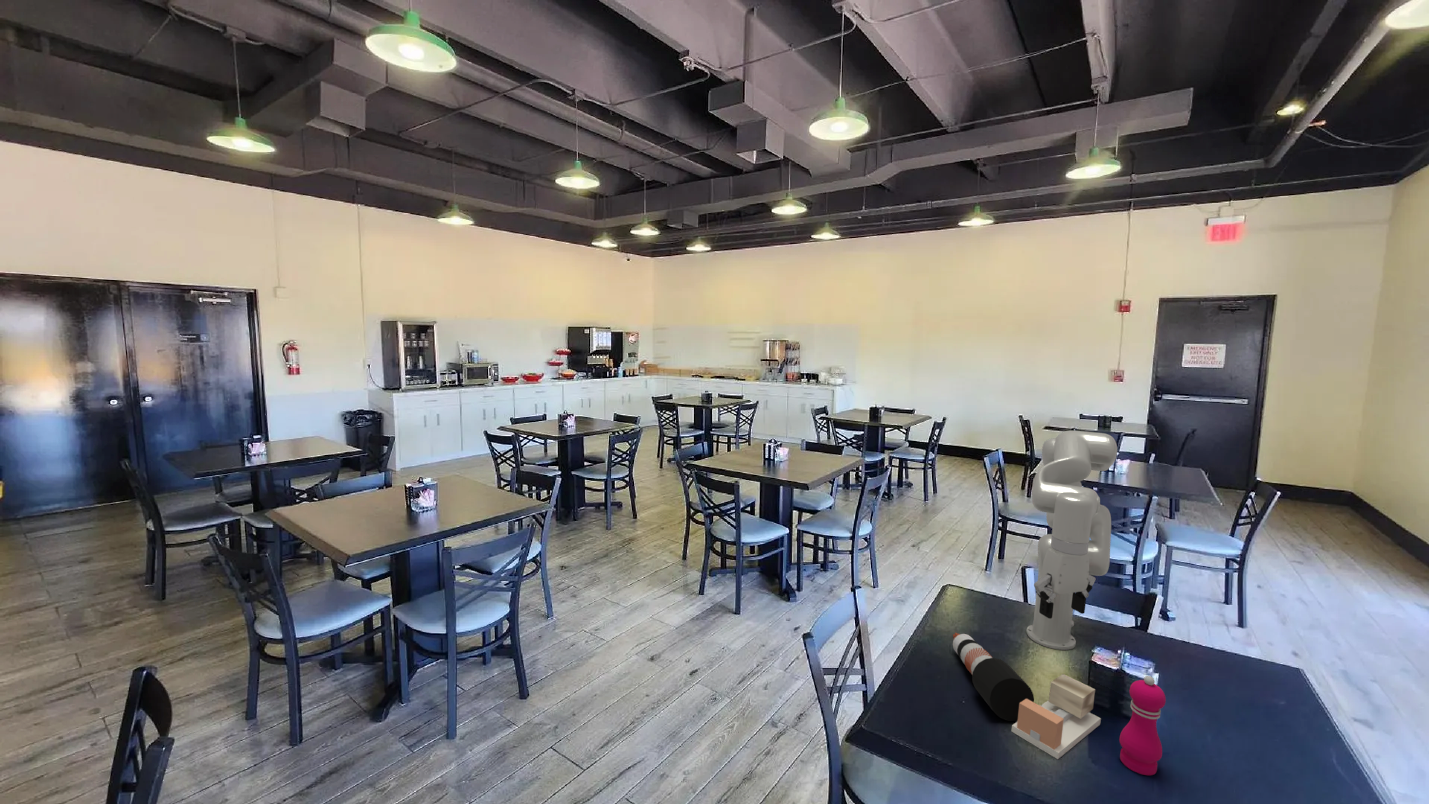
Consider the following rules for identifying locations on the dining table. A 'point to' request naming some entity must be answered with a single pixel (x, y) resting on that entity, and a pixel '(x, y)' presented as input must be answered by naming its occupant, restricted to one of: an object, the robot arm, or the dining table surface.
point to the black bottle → (993, 678)
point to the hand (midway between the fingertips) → (1061, 613)
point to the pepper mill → (1143, 728)
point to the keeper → (1071, 695)
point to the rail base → (1068, 731)
